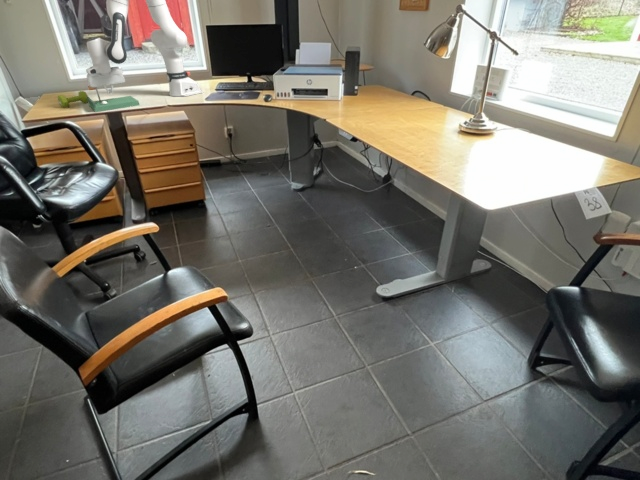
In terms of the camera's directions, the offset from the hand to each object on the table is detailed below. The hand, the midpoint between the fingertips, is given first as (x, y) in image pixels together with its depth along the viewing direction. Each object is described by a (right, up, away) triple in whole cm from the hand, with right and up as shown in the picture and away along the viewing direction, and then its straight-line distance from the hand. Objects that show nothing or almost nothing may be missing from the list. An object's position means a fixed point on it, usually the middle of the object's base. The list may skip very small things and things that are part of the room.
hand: (110, 92), depth 234 cm
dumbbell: (-26, -5, +7) cm, 28 cm away
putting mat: (0, -7, +4) cm, 8 cm away
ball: (-4, -7, 0) cm, 8 cm away
